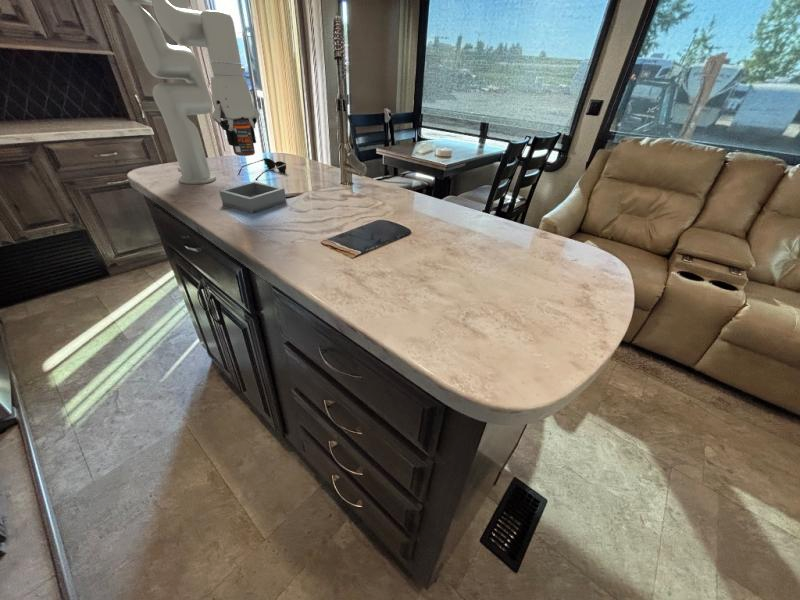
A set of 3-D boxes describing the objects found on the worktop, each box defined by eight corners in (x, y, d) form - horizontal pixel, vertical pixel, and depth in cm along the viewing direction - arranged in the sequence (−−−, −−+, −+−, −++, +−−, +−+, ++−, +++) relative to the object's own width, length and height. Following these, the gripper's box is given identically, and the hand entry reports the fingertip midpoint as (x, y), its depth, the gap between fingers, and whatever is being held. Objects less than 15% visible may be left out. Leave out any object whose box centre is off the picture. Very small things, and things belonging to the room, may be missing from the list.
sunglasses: (288, 174, 142) (286, 162, 139) (258, 184, 131) (255, 172, 128) (266, 169, 147) (264, 157, 144) (236, 178, 136) (232, 166, 133)
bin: (222, 204, 106) (219, 190, 104) (256, 194, 117) (254, 181, 114) (253, 213, 101) (250, 199, 99) (286, 201, 112) (284, 188, 109)
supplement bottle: (241, 157, 97) (232, 113, 90) (230, 154, 100) (220, 111, 93) (259, 154, 101) (251, 112, 94) (248, 151, 104) (240, 110, 97)
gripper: (244, 71, 96) (256, 139, 106) (188, 69, 83) (208, 146, 94) (262, 73, 93) (273, 142, 104) (208, 71, 81) (226, 149, 91)
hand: (242, 143), depth 99 cm, fingers closed on supplement bottle, 6 cm apart
